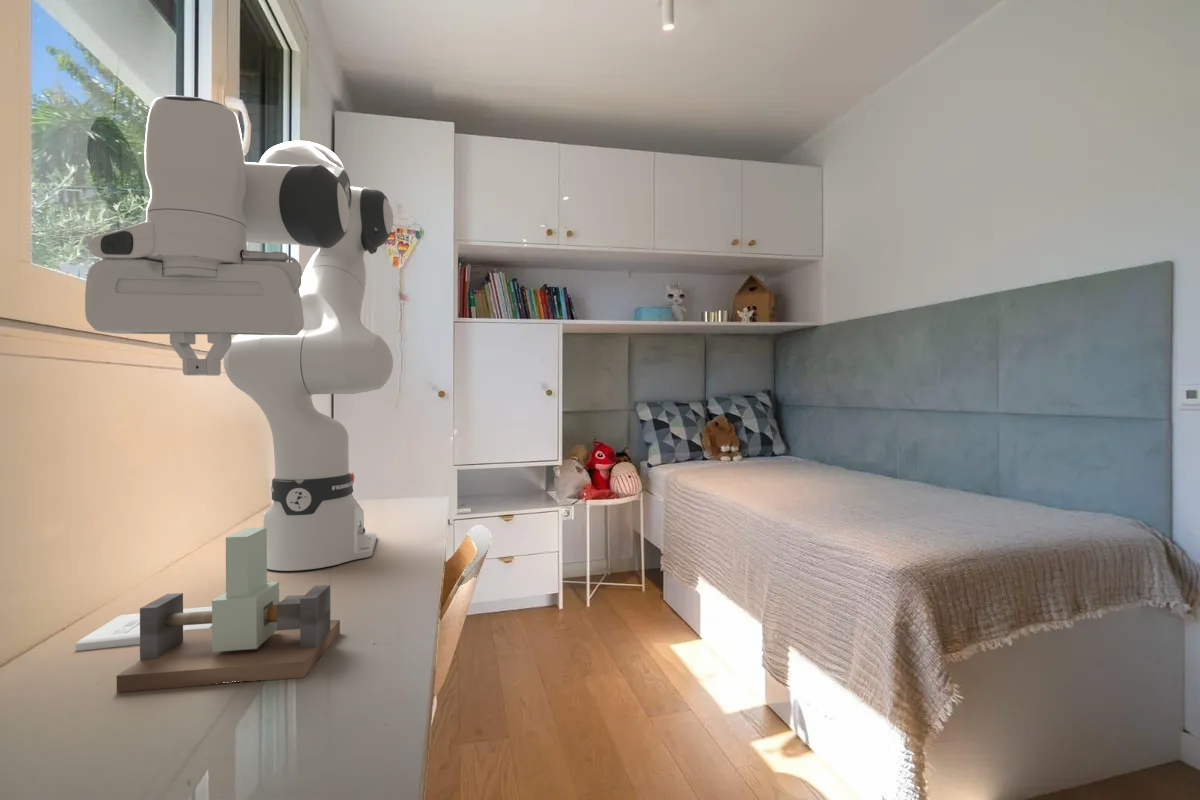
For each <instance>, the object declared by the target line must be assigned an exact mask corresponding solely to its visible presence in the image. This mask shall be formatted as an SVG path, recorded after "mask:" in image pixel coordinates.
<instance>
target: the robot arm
mask: <svg viewBox="0 0 1200 800" xmlns="http://www.w3.org/2000/svg"><path fill="white" fill-rule="evenodd" d="M144 139H145V140H144V171H145V177H146V179H147V181H148V185H149V190H150V192H149V193H150V194H149V195H150V197H149V200H148V204H147V206H146V209H145V211H146V212H145V221H143V222H139V223H137V224H134V225H131V226H128V227H125V228H121V229H117V230H112V231H108V232H104V233H100V234H97V235H93V237H91V239H90V241H89V247H90V248H89V249H90V253H91V254H92V255H93V256H94V257H97V258H100V260H97V261H96V262H94V263H93V264H92V265H91V266H90V267H89V269H88V272H87V275H86V279H85V280H86V282H85V289H84V290H85V293H84V297H85V298H84V311H85V312H84V314H85V319H86V321H87V323H88V325H90V327H92V328H93V329H94V330H95V331H96V332H101V333H107V334H121V335H122V334H123V335H124V334H125V335H126V334H127V335H131V334H132V335H135V334H136V335H169V344H170V346H172V348H173V349H174V351H175V352H176V354H177V355H178V356H179V358H180V359H181V360H182V361H181V362H182V373H183V375H184V376H189V377H190V376H194V377H195V376H196V377H197V376H215V377H217V376H220V375H221V374H222V373H221V372H222V371H221V370H222V367H221V366H222V365H221V364H222V363H221V362H222V361H221V360H223V367H224V371H225V373H226V376H227V377H228V379H229V381H230V382H231V383H232V384H233V385H234V386H235V387H236V388H237V389H238V390H240V391H241V392H243V393H244V394H246V395H247V396H249V397H250V399H252V400H253V401H254V402H255V403H256V404H257V405H258V407H259V409H261V411H262V413H263V415H265V418H266V420H267V421H268V425H269V427H270V431H271V434H272V442H273V456H274V477H273V478H272V479H271V487H270V492H271V500H272V501H273V503H272V505H271V506H270V507H269V508H267V510H266V511H264V513H263V517H262V527H261V528H265V527H267V570H271V571H282V572H285V571H286V572H288V571H289V572H293V571H305V570H306V571H307V570H314V569H321V568H326V567H331V566H336V565H341V564H343V563H347V562H350V561H355V560H360V559H365V558H368V557H372V556H373V554H374V550H375V546H376V541H377V539H378V538H377V532H373V531H372V532H371V531H366V528H365V516H364V515H365V514H364V509H363V508H362V506H360V504H359V503H358V501H357V500H356V499H355V497H354V496H353V493H354V487H353V485H354V483H355V482H354V481H355V473H354V472H349V470H350V469H349V467H350V465H349V460H350V459H349V434H348V431H347V429H346V428H345V426H344V425H343V424H342V423H341V422H340V421H338V420H336V419H334V418H333V417H331V416H329V415H326V414H324V413H322V412H320V411H318V410H317V409H316V407H315V406H314V404H313V398H312V395H313V396H314V395H354V394H361V393H367V392H371V391H376V390H380V389H382V388H383V387H384V386H385V385H386V384H387V382H388V380H389V379H390V377H391V375H392V372H393V367H394V359H393V355H392V354H393V353H392V352H391V349H390V347H389V345H388V344H387V342H386V341H385V340H384V339H383V338H382V337H381V336H380V335H378V334H376V333H375V332H372V331H371V330H369V329H368V328H367V327H365V325H364V324H363V322H362V320H361V312H362V306H363V300H364V298H365V297H364V295H365V292H366V283H367V282H366V279H367V275H366V265H365V260H364V258H365V257H364V256H365V255H364V254H365V253H366V252H368V253H369V254H370V255H373V254H376V253H377V251H378V248H380V247H381V246H382V245H384V244H385V243H386V242H387V241H388V239H389V238H390V237H391V233H392V230H393V225H394V214H393V209H392V207H391V204H390V202H389V199H388V197H387V195H386V194H385V193H384V192H383V191H381V190H378V189H375V188H372V187H367V186H363V187H356V186H351V183H350V182H351V181H350V178H349V175H348V173H347V171H346V169H345V168H344V165H343V163H342V161H341V160H340V158H339V157H338V156H337V155H336V154H335V153H334V152H333V151H332V150H330V149H329V148H327V147H325V146H323V145H321V144H318V143H315V142H312V141H307V140H293V141H285V142H281V143H279V144H276V145H274V146H272V147H270V148H269V149H267V150H266V151H265V152H264V154H262V156H261V158H260V160H259V162H251V161H250V162H248V161H246V160H245V159H246V158H245V152H244V144H243V143H244V142H243V137H242V130H241V127H240V122H239V118H238V115H237V113H236V112H235V111H234V110H232V109H231V108H229V107H228V106H225V105H224V104H222V103H219V102H217V101H214V100H210V99H205V98H201V97H198V96H187V95H176V94H175V95H173V94H172V95H170V94H169V95H168V94H167V95H163V96H159V97H157V98H155V99H153V101H152V103H151V104H150V109H149V111H148V115H147V122H146V128H145V138H144ZM248 243H252V244H271V245H272V244H274V245H297V246H299V245H301V246H305V247H314V248H315V247H316V248H318V249H317V250H316V251H315V252H314V253H313V255H312V256H311V258H310V259H309V261H308V262H307V265H306V267H305V269H304V271H302V266H301V264H300V262H299V261H298V260H297V259H296V258H294V257H292V256H291V255H288V254H287V252H283V251H273V252H269V251H268V252H265V251H258V250H248ZM302 272H303V273H302ZM196 335H206V336H207V343H208V344H212V345H211V347H210V349H209V351H208V353H207V354H206V356H205V358H199V357H198V356H197V355H196V353H195V351H194V349H193V348H192V346H191V345H195V344H196ZM234 335H235V336H234ZM232 336H234V337H233V338H232Z"/></svg>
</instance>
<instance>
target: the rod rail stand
mask: <svg viewBox="0 0 1200 800" xmlns="http://www.w3.org/2000/svg"><path fill="white" fill-rule="evenodd" d="M183 609H184V592H176V593H175V592H174V593H167V594H166V593H165V594H164V595H162V596H161V597H159V598H157V599H154V600H153V601H151V602H150V603H147V604H145V605H143V606H141V607H140V608H139V613H140V644H139V660H138V661H137V662H134V664H132V665H131V666H129V667H128V668H126V669H125V670H123V671H122V672H120V673H119V674H117V675H116V693H125V692H135V691H136V692H137V691H150V690H151V691H152V690H162V689H174V688H175V689H176V688H186V687H187V688H189V687H200V686H201V685H202V686H211V684H215V685H219V684H218V683H223V682H225V683H226V682H232V681H233V682H234V681H236V682H238V681H239V682H240V681H242V682H240V683H244V682H243V681H252V682H259V681H258V680H261V681H262V682H264V681H274V680H275V681H276V680H286V679H287V680H288V679H299V678H305V677H306V676H307V675H308V673H309V672H310V671H311V670H312V668H313V667H314V666H315V665H316V664H317V662H318V661H319V659H320V658H321V657H322V656H323V655H324V653H325V652H326V651H327V650H328V648H329V647H331V645H332V643H333V642H334V641H335V640H336V639H337V637H338V636H339V635H340V633H341V619H333V620H331V584H321V585H320V584H317V585H314V586H313V587H312V588H311V589H309V591H307V592H306V593H305V594H297V595H295V594H294V595H286V597H284V598H283V599H282V600H281V601H279V603H278V604H276V605H271V606H270V607H268V608H264V620H268V622H277V631H275V632H274V633H273V634H272V635H271V636H270V637H269V638H268V639H267V640H266V641H265V642H263V643H262V644H261V645H260V646H259V647H258V648H257V649H247V650H233V651H219V652H212V628H208V629H193V630H185V631H183V625H196V624H211V623H212V611H203V612H187V613H183ZM256 680H257V681H256ZM263 680H264V681H263ZM261 681H260V682H261ZM216 683H217V684H216Z"/></svg>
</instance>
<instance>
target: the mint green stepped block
mask: <svg viewBox="0 0 1200 800" xmlns="http://www.w3.org/2000/svg"><path fill="white" fill-rule="evenodd" d="M278 603H280V581H268V569H267V527H265V528H262V527H246V528H243V529H242V530H239V531H237V532H235V533H232V534H231V535H228V536H226V537H225V592H224V593H221V594H220V595H219V596H217V597H215V598H213V600H211V606H212V652H219V651H233V650H247V649H257V648H258V647H259V646H260V645H261V644H262V643H263V642H265V641H266V640H267V639H268V638H269V637H270V636H271V635H272V634H273V633H274V632H275V631H277V622H268V620H264V608H268V607H270V606H271V605H276V604H278Z"/></svg>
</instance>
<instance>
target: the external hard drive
mask: <svg viewBox="0 0 1200 800" xmlns="http://www.w3.org/2000/svg"><path fill="white" fill-rule="evenodd" d="M203 611H212V605H211V606H200V607H190V608H188V607H187V608H183V613H187V612H203ZM208 628H212V623H211V624H196V625H183V631H185V630H193V629H208ZM137 645H140V612H138V613H131V614H130V613H129V614H119V615H118V616H116V617H115V618H113V619H112V620H110V621H108V622H107V623H105V624H103V625H102V626H100V627H99V628H97V629H95V630H94V631H92V632H90V633H89V634H87V635H85V636H84V637H82V638H81V639H79V640H78V641H77V642H76V643H75V651H76V652H80V651H88V650H96V649H97V650H99V649H107V648H108V649H109V648H116V647H117V648H118V647H128V646H137Z"/></svg>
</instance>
